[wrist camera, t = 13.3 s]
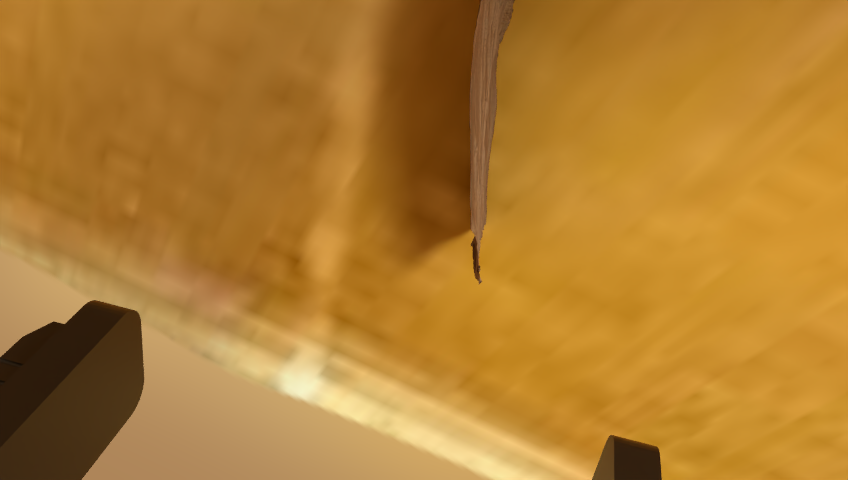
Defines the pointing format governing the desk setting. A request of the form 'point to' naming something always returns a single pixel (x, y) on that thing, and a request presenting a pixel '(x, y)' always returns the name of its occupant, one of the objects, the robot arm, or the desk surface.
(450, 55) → the desk surface
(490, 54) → the wood plank
